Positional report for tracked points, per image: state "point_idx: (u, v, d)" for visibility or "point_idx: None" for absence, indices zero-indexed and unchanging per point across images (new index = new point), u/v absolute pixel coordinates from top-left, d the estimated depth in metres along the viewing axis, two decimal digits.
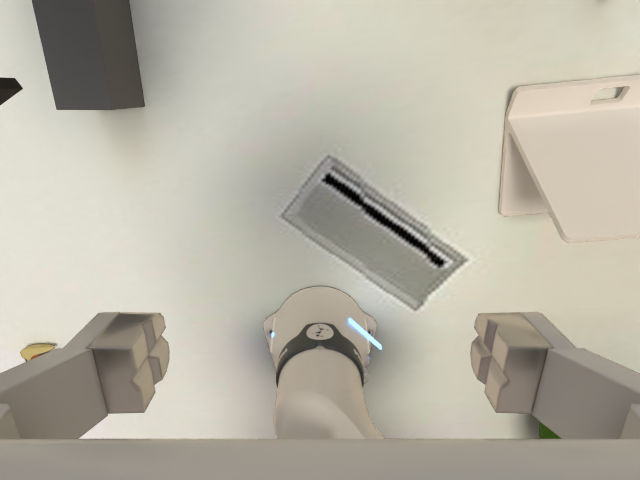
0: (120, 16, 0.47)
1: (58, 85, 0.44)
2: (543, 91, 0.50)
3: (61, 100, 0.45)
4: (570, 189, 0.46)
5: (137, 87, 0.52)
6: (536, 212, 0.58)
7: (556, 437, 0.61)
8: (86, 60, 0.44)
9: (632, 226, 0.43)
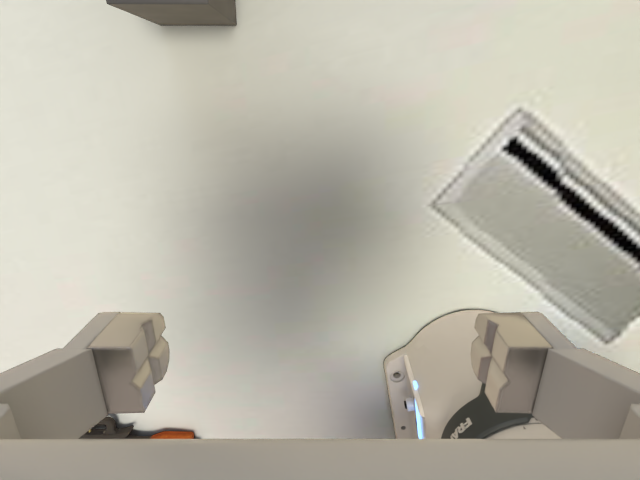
0: None
1: None
2: None
3: None
4: None
5: None
6: None
7: None
8: None
9: None
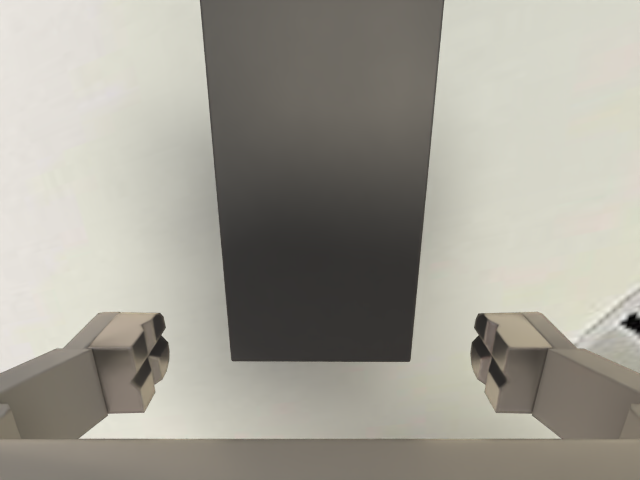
0: None
1: (250, 297, 0.13)
2: None
3: (251, 338, 0.14)
4: None
5: None
6: None
7: None
8: (363, 224, 0.12)
9: None
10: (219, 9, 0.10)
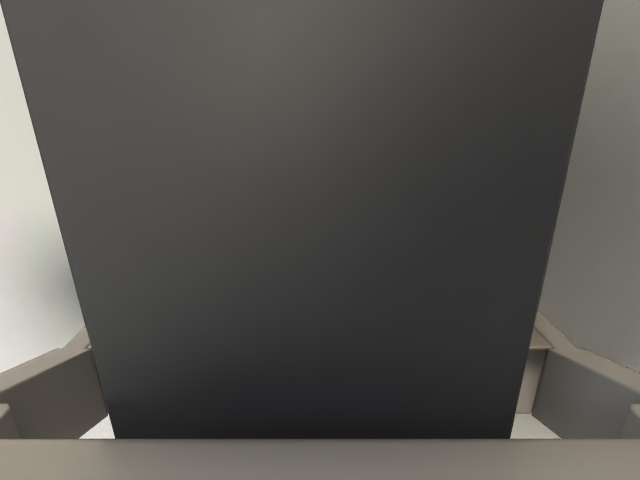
0: None
1: None
2: None
3: None
4: None
5: None
6: None
7: None
8: (399, 375, 0.06)
9: None
10: None
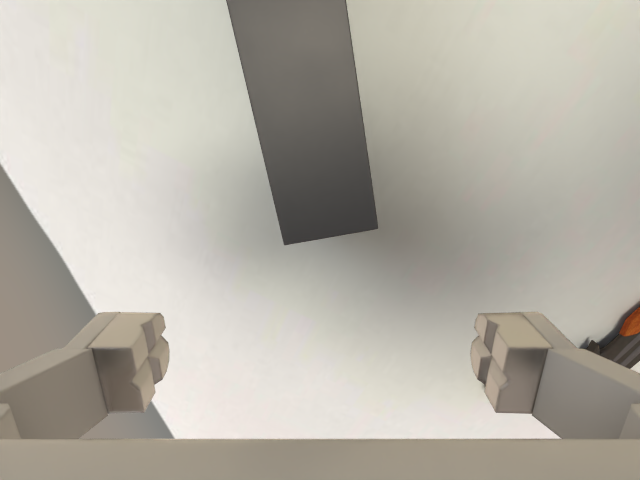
0: None
1: (288, 207, 0.26)
2: None
3: (292, 230, 0.26)
4: None
5: None
6: None
7: None
8: (337, 157, 0.25)
9: None
10: (251, 68, 0.23)
